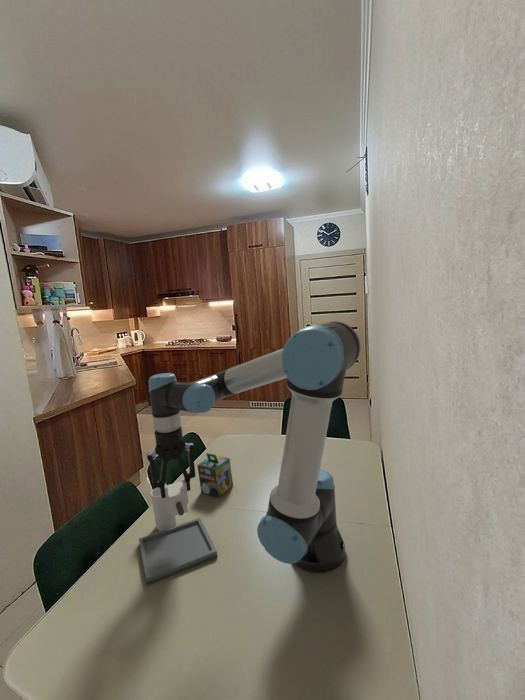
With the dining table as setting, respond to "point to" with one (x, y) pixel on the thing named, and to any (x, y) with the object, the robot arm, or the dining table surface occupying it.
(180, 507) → the connector
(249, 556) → the dining table surface
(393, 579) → the dining table surface
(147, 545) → the tray
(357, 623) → the dining table surface
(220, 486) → the chalk box
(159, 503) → the mug
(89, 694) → the dining table surface
